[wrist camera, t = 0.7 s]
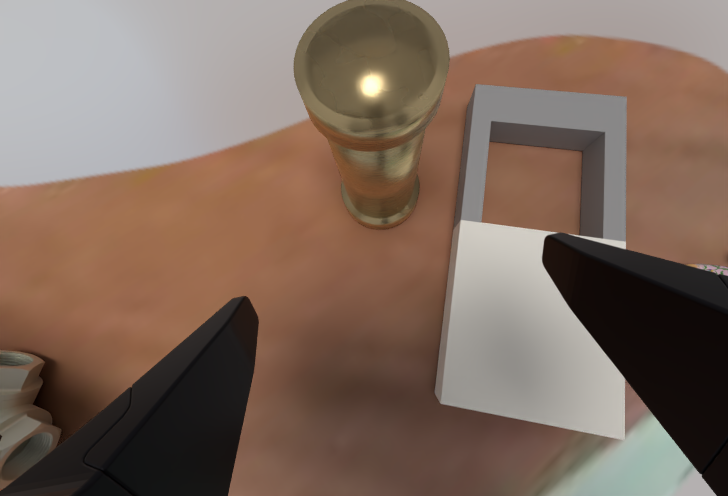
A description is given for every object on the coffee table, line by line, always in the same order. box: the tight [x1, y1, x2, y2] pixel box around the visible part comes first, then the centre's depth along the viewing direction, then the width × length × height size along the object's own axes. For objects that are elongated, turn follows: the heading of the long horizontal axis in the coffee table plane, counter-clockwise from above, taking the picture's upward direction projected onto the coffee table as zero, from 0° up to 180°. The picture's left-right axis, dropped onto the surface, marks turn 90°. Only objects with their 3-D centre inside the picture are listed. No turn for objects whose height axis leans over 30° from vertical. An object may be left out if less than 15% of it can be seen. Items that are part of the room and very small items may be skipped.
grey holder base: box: [435, 84, 626, 440], centre depth 21 cm, size 22×10×2 cm, turn 171°
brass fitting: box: [294, 0, 450, 230], centre depth 18 cm, size 6×6×13 cm
